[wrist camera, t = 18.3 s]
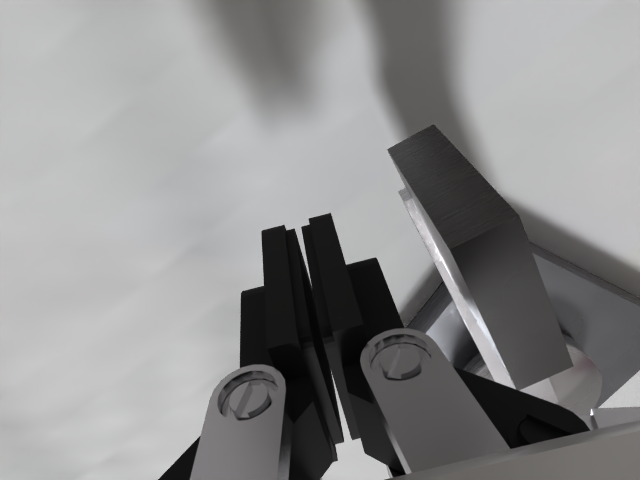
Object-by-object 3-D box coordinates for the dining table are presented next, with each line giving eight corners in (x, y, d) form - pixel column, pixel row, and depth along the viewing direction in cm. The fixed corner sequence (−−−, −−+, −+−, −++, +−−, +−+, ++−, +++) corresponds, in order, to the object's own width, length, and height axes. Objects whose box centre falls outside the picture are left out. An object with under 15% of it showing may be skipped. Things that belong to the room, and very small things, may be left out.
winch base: (490, 222, 17) (503, 238, 16) (666, 312, 20) (684, 329, 19) (347, 402, 20) (351, 423, 19) (514, 454, 23) (524, 474, 23)
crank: (598, 393, 20) (711, 544, 15) (478, 445, 21) (548, 604, 16) (487, 68, 13) (635, 157, 8) (310, 166, 14) (346, 300, 9)
